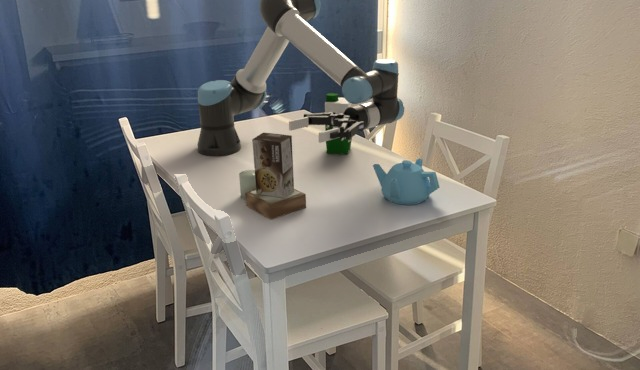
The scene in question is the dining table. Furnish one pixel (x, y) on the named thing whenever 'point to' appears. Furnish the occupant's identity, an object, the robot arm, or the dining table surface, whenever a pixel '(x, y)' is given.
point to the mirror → (275, 203)
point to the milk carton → (339, 143)
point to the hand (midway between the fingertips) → (304, 131)
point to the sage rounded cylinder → (247, 182)
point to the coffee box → (273, 164)
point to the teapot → (406, 182)
